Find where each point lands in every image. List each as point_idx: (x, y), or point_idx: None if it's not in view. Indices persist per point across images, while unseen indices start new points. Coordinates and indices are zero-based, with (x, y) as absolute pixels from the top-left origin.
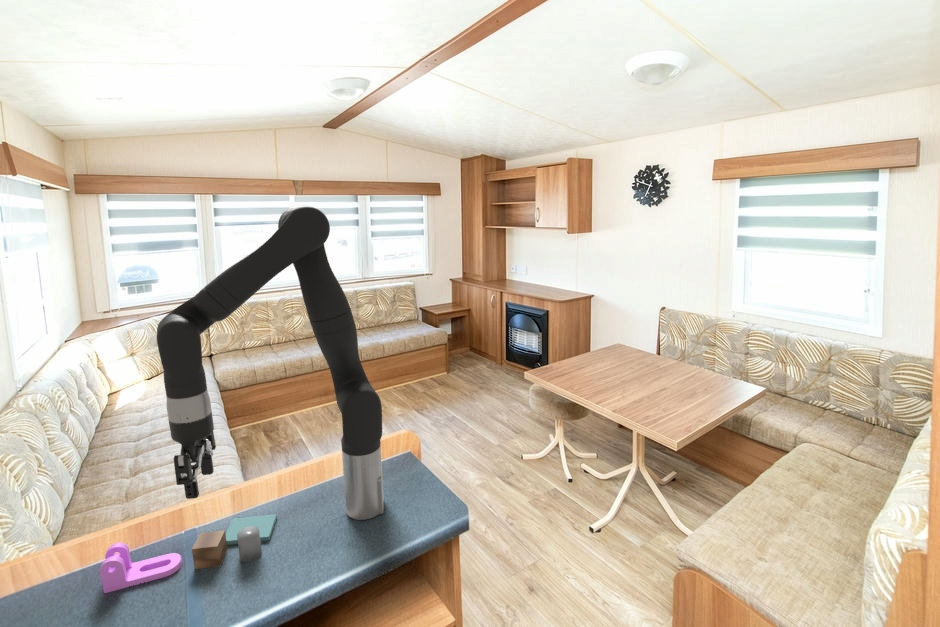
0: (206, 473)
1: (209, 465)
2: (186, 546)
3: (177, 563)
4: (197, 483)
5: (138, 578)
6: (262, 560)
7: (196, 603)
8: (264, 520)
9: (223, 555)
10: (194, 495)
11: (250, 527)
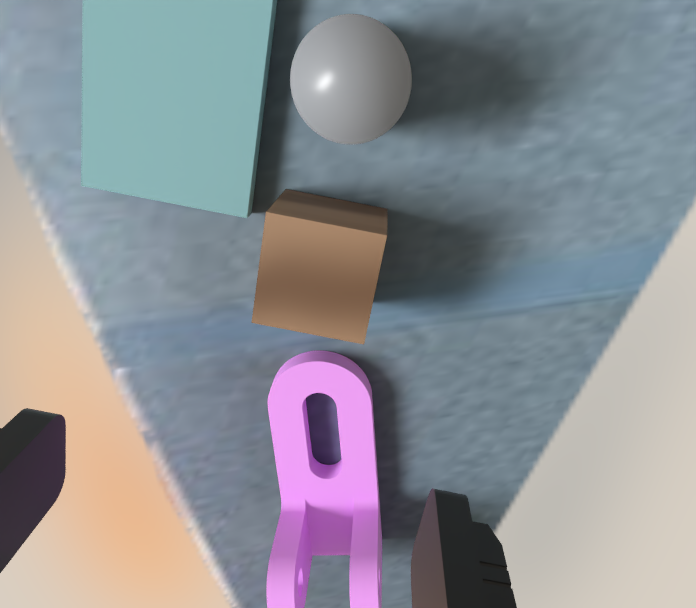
0: (58, 463)
1: (4, 491)
2: (215, 349)
3: (339, 369)
4: (446, 588)
5: (375, 474)
6: (423, 17)
7: (571, 272)
8: (128, 17)
9: (337, 201)
10: (489, 534)
11: (303, 71)
